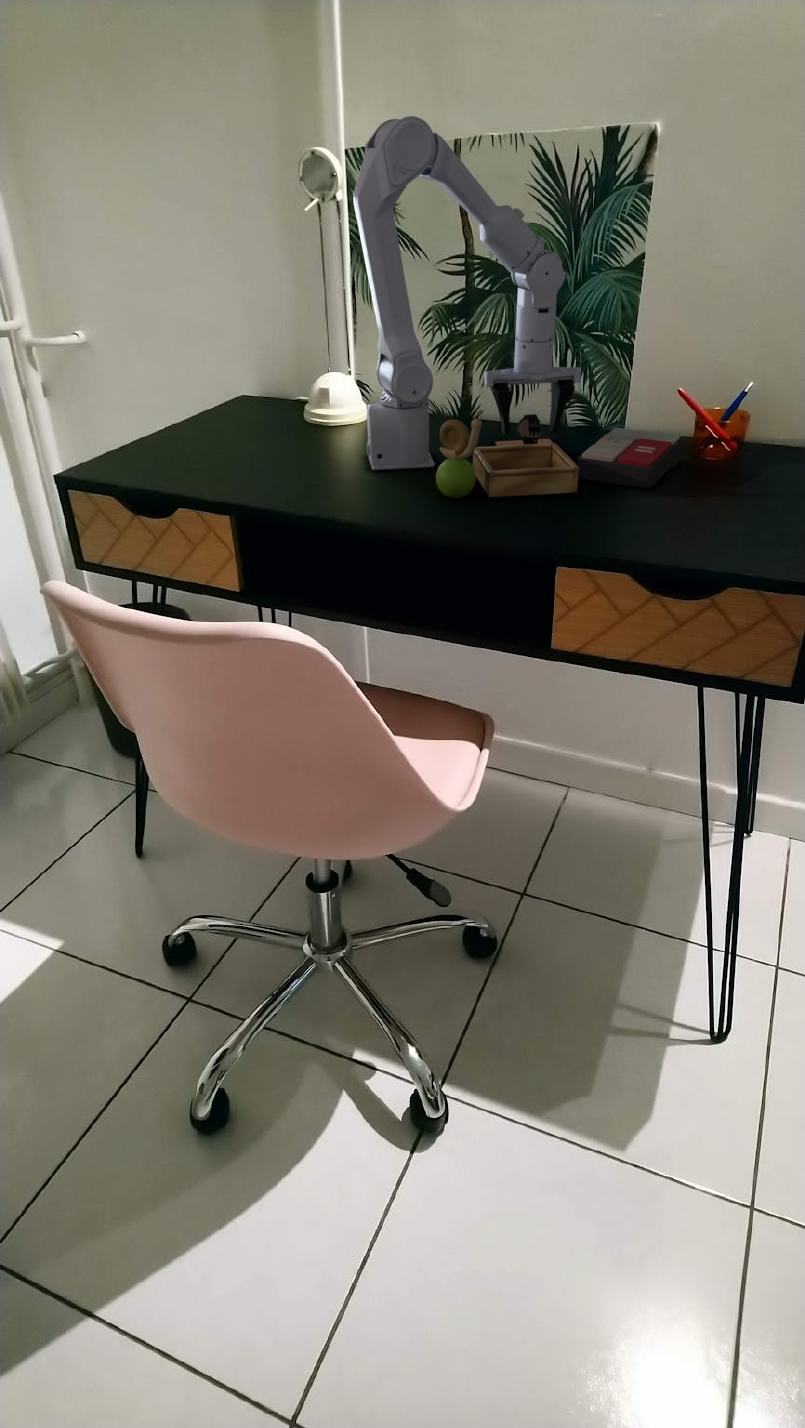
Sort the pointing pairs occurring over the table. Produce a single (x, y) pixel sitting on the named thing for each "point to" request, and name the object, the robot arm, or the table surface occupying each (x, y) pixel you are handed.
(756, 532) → the table surface
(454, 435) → the snail figurine
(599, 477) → the grey and red box
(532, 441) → the smartwatch
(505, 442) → the coaster
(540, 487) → the wooden box
